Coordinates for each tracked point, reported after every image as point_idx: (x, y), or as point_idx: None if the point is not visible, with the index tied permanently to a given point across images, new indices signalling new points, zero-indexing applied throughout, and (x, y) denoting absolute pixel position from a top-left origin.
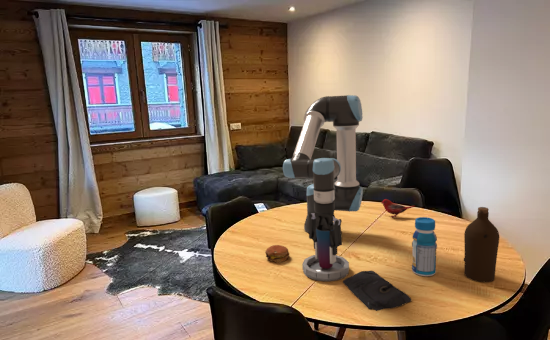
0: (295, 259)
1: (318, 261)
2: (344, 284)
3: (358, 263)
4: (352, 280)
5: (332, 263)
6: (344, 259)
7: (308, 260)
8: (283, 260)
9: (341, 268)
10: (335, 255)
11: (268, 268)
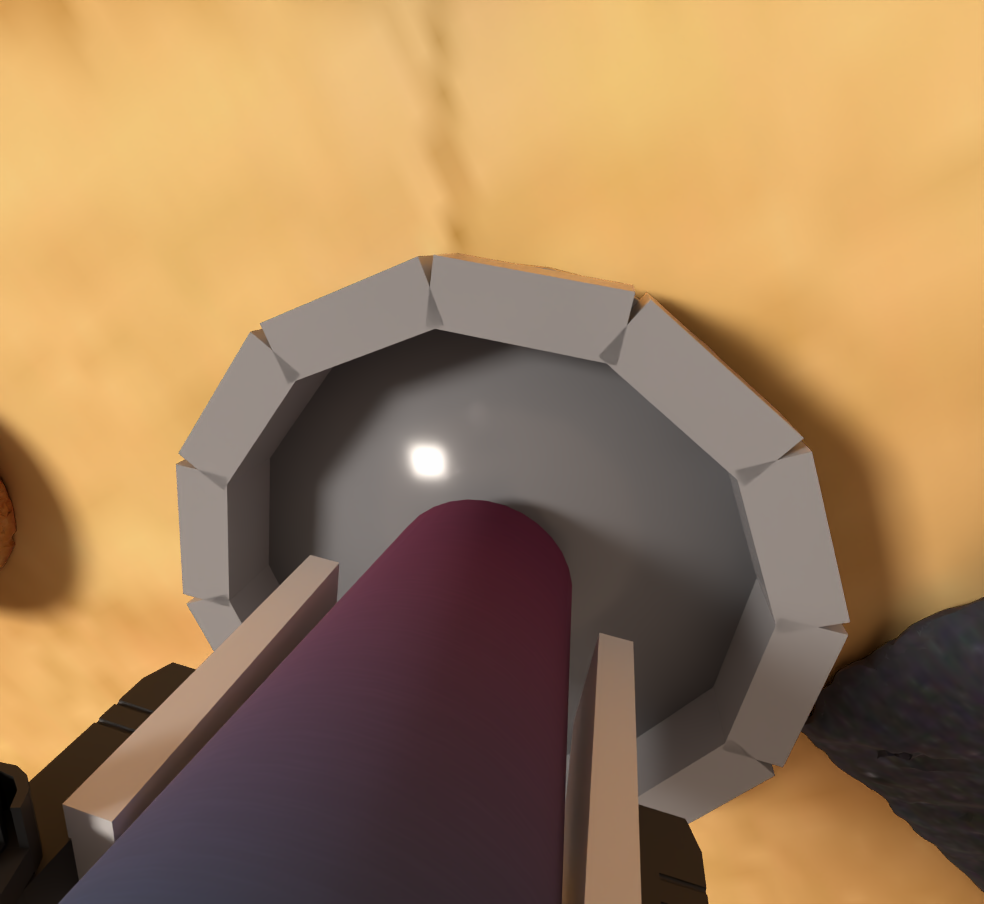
0: (58, 434)
1: (309, 435)
2: (832, 761)
3: (874, 87)
4: (959, 783)
5: (569, 603)
6: (689, 368)
7: (235, 589)
8: (6, 534)
9: (756, 683)
10: (631, 740)
11: (44, 693)
